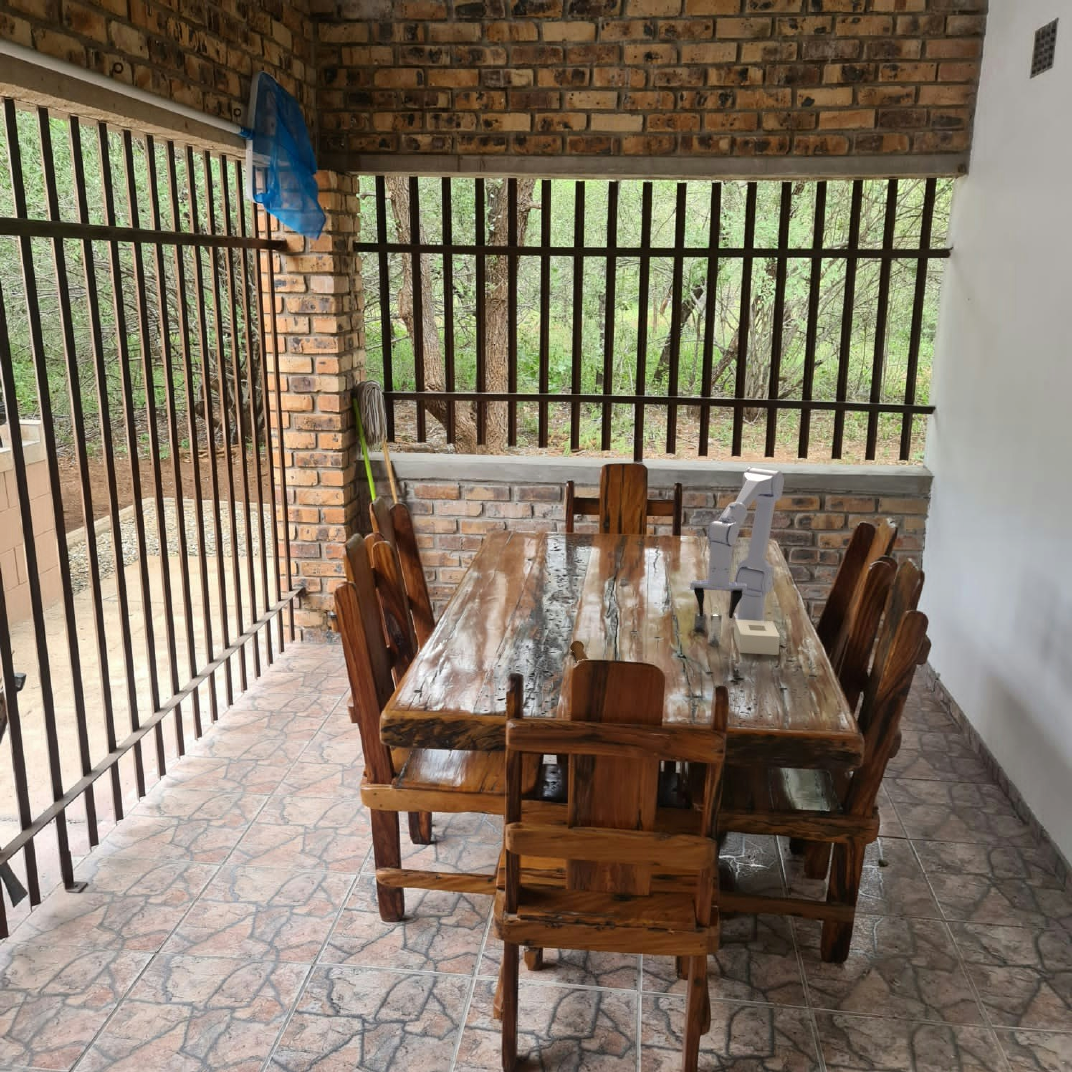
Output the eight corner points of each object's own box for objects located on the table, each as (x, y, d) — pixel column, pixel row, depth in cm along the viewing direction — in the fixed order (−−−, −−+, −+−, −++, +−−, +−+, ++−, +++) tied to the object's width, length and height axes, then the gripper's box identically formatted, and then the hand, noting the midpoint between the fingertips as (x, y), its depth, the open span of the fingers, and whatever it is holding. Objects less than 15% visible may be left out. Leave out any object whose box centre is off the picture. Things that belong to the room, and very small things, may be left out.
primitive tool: (600, 681, 230) (601, 667, 229) (578, 682, 229) (578, 668, 228) (583, 652, 248) (583, 639, 247) (562, 653, 247) (562, 640, 246)
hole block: (733, 636, 261) (735, 619, 260) (771, 638, 260) (772, 621, 259) (739, 652, 249) (740, 634, 248) (778, 654, 248) (780, 636, 247)
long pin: (707, 641, 257) (709, 612, 255) (718, 641, 257) (721, 613, 255) (708, 645, 254) (710, 616, 252) (720, 645, 254) (722, 617, 252)
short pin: (693, 627, 267) (694, 612, 266) (704, 628, 267) (705, 613, 266) (694, 631, 264) (695, 616, 263) (705, 632, 264) (706, 616, 263)
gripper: (692, 569, 247) (689, 619, 250) (749, 572, 246) (745, 622, 249) (690, 562, 254) (687, 611, 257) (746, 565, 253) (742, 614, 256)
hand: (715, 616), depth 254 cm, fingers open, 7 cm apart
